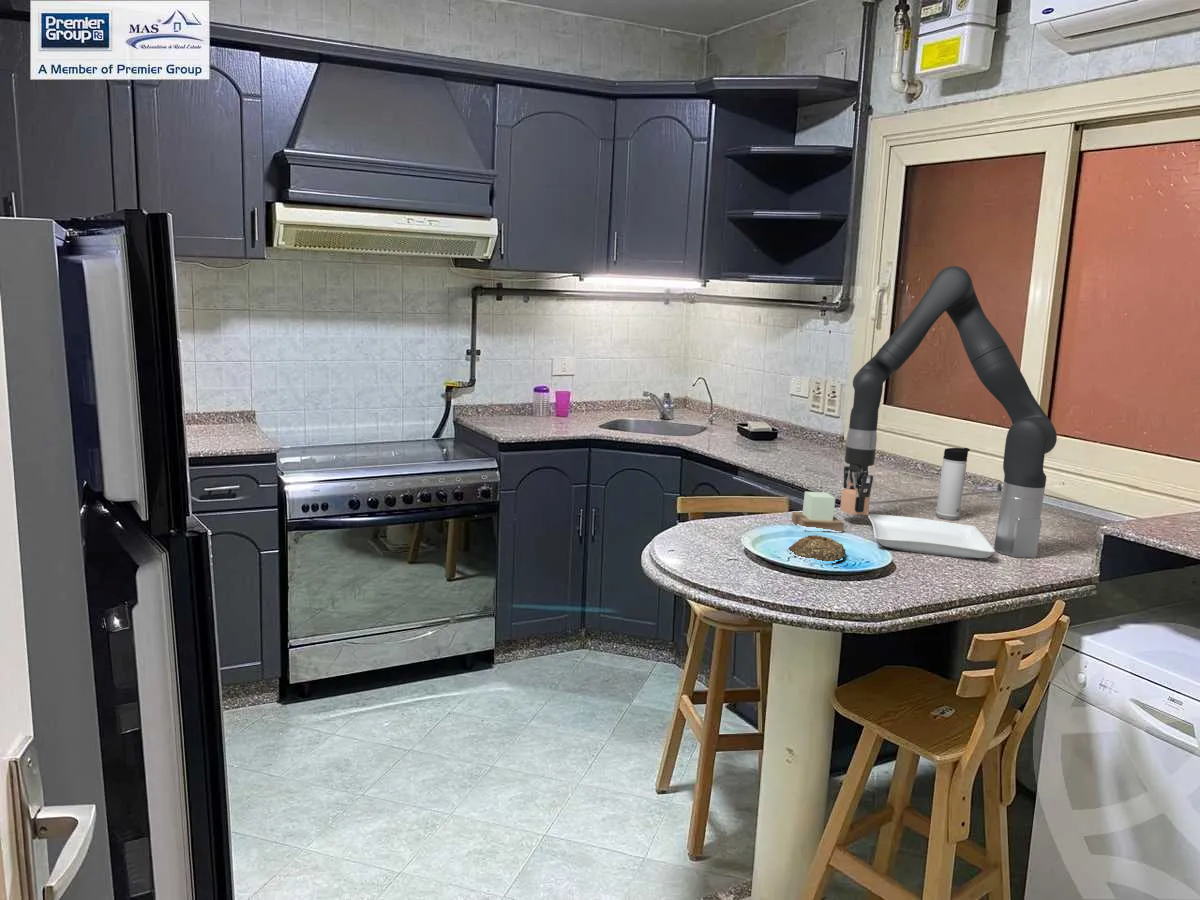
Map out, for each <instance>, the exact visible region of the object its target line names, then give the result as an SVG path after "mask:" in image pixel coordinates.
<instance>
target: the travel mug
mask: <svg viewBox="0 0 1200 900" xmlns="http://www.w3.org/2000/svg"><path fill="white" fill-rule="evenodd" d="M969 452H970V448H968V447H964V448H963V447H948V448H945V449H944V451H943V457H942V463H941V471H940V479H939V486H938V493H937V502H936V507H935V508H936V509H935V517H936V516H937V517H936V518H938V517H940V518H939V519H941V518H944V519H943V520H945V519H949V520H948V521H958V520H959V519H960V514H961V506H962V501H963V493H964V492H963V491H964V486H965V478H966V470H967V463H968V455H969Z"/></svg>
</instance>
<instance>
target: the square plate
mask: <svg viewBox="0 0 1200 900" xmlns="http://www.w3.org/2000/svg"><path fill="white" fill-rule="evenodd" d="M867 518H868V519H869V520H870V522H871V525H872V528H873V529H872V530H873V536H874V538H875V539H877V541H878V542H879V544H880V545H882V546H883V547H886V548H891V549H894V550H896V551H897V550H898V551H904V552H909V551H910V552H911V553H919V554H927V555H935V556H936V555H937V556H945V557H952V558H962V559H972V558H973V559H974V558H975V559H984V558H985V559H986V558H988V557H990V556H992V555H993V554H995V553H996V552H997V551H995V550H994V546H993V545H991V543H990V542H989V540H988V539H987V538H986V537H985V536H984V535H983V533H982V532H981V531H980V530H979V528H978V527H976V526H975V525H970V524H962V523H954V522H950V521H949V522H947V521H942V520H936V519H927V518H922V517H921V518H920V517H912V516H901V515H892V514H890V515H889V514H877V513H876V514H875V513H868V515H867Z"/></svg>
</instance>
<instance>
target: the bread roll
mask: <svg viewBox="0 0 1200 900" xmlns="http://www.w3.org/2000/svg"><path fill="white" fill-rule="evenodd" d="M788 549H789V550H790V551H792V552H794V554H795V555H798V556H801V557H805V558H814V559H817V560H822V561H835V560H840V559H841V558H843V557H844V555H845V556H846V552H847V551H846V549H845V548H844V545H843V543H840V542H838V541H837V540H835V539H832V538H831V537H828V536H822V535H817V534H816V535H815V534H813V535H807V536H805V537H802V538H800V539H798V540H797V541H796V542H795V543H792V544H791V545H790V546H789V547H788ZM845 551H846V552H845ZM844 558H845V557H844Z"/></svg>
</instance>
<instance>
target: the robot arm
mask: <svg viewBox="0 0 1200 900" xmlns="http://www.w3.org/2000/svg"><path fill="white" fill-rule="evenodd" d="M979 301H980V300H979V298H978V297H977V294H976V291H975V287H974V284H973V280H972V278H971V276H970V274H969V273H968V271H967V270H966V269H965V268H963V267H960V266H956V265H950V266H948V267H945V268H943V269H941V270H940V271H939V272H938V273H937V274H936V276H935V277H934V279H933V280H932V282H931V283H930V285H929V287H928V289H927V290H926V291H925V293H924V295H922V297H921V299H920V300H919V302H918V303H917V304H916V306H915V308H913V310H912V311H911V313H910V314H909V315H908V316H907V317H906V318H905V320H904V321H903V322H902V323H901V324H900V325H899V327H897V329H896V330H895V331H894V333H892V334H891V336H890V337H889V338H888V339H887V340H886V341H885V343H884V344H883V345H882V346H881V347H880V348H879V349H878V351H876V353H875V355H874V356H872V357H871V358H870V359H869V360H868V361H867V362H866V363H865V364H864V365H863V366H862V367H861V368H860V369H859V370H858V371H857V372H856V373H855V375H854V377H853V380H852V388H853V390H854V395H853V404H852V408H851V410H850V411H851V412H850V416H849V427H848V431H847V436H846V444H845V445H846V446H845V453H844V454H845V456H844V462H845V463H846V464H849V466H847V465H845V466H844V467H843V485H842V486H843V489H855V490H856V502H855V511H856V512H863V511H864V503H865V498H866V497H869V496H870V497H871V491H872V488H873V486H872V485H873V481H874V476H873V475H870V474H869V467H871V466H874V464H875V461H876V460H875V459H876V450H877V448H876V447H877V442H878V440H877V439H878V437H877V436H878V435H877V432H878V431H877V430H878V429H877V428H878V420H879V409H880V405H881V400H882V396H883V388H884V383H885V381H887V379H888V378H889V377H890V376H891V375H892V374H893V373H895V372H897V371H898V370H900V368H901V367H902V366H903V364H905V363H906V362H907V360H908V359H909V358H911V356H912V355H913V354H914V353H915V351H916V350H918V348H919V346H920V345H921V343H922V342H923V340H924V339H925V337H926V335H927V334H928V332H929V331H930V329H931V328H932V327H933V325H934V324H935V322H937V320H938V319H939V318H940V317H941V316H942V315H943V314H944V313H945V312H946V314H947V315H948V317H949V318H950V319H951V321H952V323H953V324H954V326H955V328H956V330H957V331H958V334H959V337H960V339H961V342H962V346H963V348H964V351H965V353H966V356H967V357H968V360H969V362H970V364H971V366H972V368H973V370H974V372H975V374H976V376H977V377H978V379H979V381H980V382H981V383H982V385H983V386H984V387H985V388H986V390H987V391H988V392H989V393H990V394H991V395H992V396H993V397H994V398H995V399H996V400H997V401H998V402H999V404H1001V406H1003V408H1004V410H1005V411H1006V413H1007V415H1008V418H1009V419H1010V421H1011V423H1012V424H1011V426H1010V427H1009V429H1008V430H1007V434H1006V439H1005V444H1004V453H1003V463H1002V469H1003V472H1004V473H1003V475H1004V476H1003V477H1004V478H1003V484H1002V491H1001V498H1000V505H999V512H998V518H997V526H996V531H995V532H996V533H995V538H994V539H995V540H994V545H993V548H994V550H995V551H996V552H998V553H1000V554H1004V555H1007V556H1011V558H1012V557H1013V558H1034V559H1035V558H1037V554H1038V547H1039V540H1040V535H1041V530H1042V519H1041V515H1042V508H1043V503H1044V496H1045V490H1046V484H1047V475H1046V474H1045V472H1044V471H1045V470H1044V462H1045V457H1046V456H1045V455H1046V454H1048V453H1050V452H1051V451H1052V450H1053V449H1054V448H1055V446H1056V443H1057V441H1058V439H1057V438H1058V435H1057V431H1056V428H1055V426H1054V424H1053V422H1052V421H1051V420H1050V418H1049V417H1048V415H1047V414H1046V413H1045V411H1044V410H1043V408H1042V407H1041V405H1040V404H1039V403H1038V402H1037V400H1036V398H1035V397H1034V395H1033V393H1032V391H1031V389H1030V387H1029V385H1028V383H1027V381H1026V379H1025V377H1024V374H1022V371H1021V370H1020V368H1019V366H1018V364H1017V361H1016V359H1015V357H1014V355H1013V354H1012V352H1011V351H1010V348H1009V346H1008V345H1007V343H1006V342H1005V340H1004V338H1003V337H1002V335H1001V334H1000V333H999V331H998V330H997V329H996V328H995V326H994V325H993V323H992V322H990V320H989V319H988V316H986V314H985V312H984V310H983V308H982V306H981V303H980V302H979ZM859 490H860V492H859Z"/></svg>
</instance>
